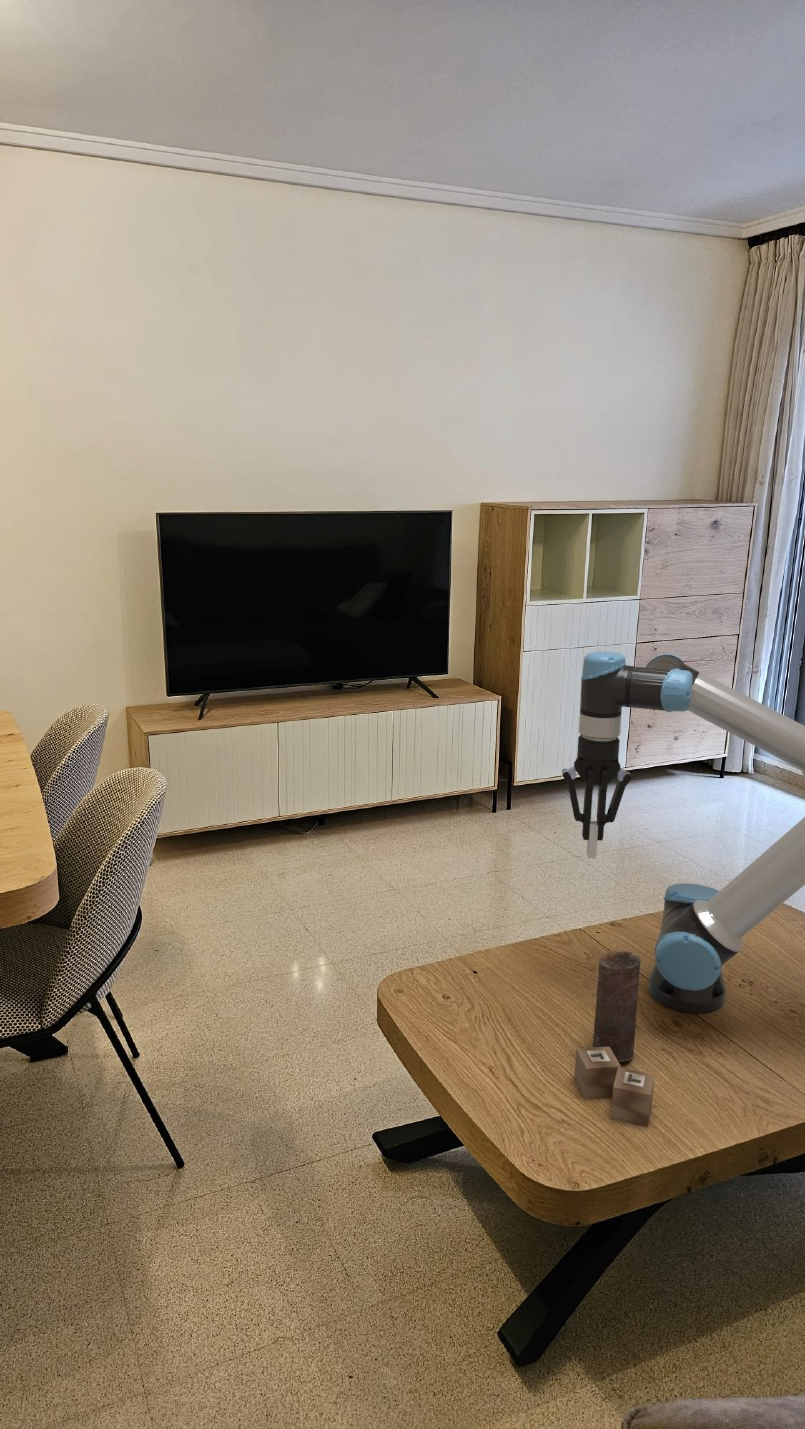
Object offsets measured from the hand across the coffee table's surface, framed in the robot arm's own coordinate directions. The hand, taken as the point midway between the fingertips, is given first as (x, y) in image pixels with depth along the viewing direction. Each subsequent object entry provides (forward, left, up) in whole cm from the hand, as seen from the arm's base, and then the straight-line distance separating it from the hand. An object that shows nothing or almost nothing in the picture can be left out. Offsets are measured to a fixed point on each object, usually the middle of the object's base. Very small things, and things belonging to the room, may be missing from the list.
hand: (591, 855), depth 187 cm
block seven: (-5, +32, -33) cm, 46 cm away
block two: (0, +26, -33) cm, 42 cm away
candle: (-4, +16, -33) cm, 37 cm away
